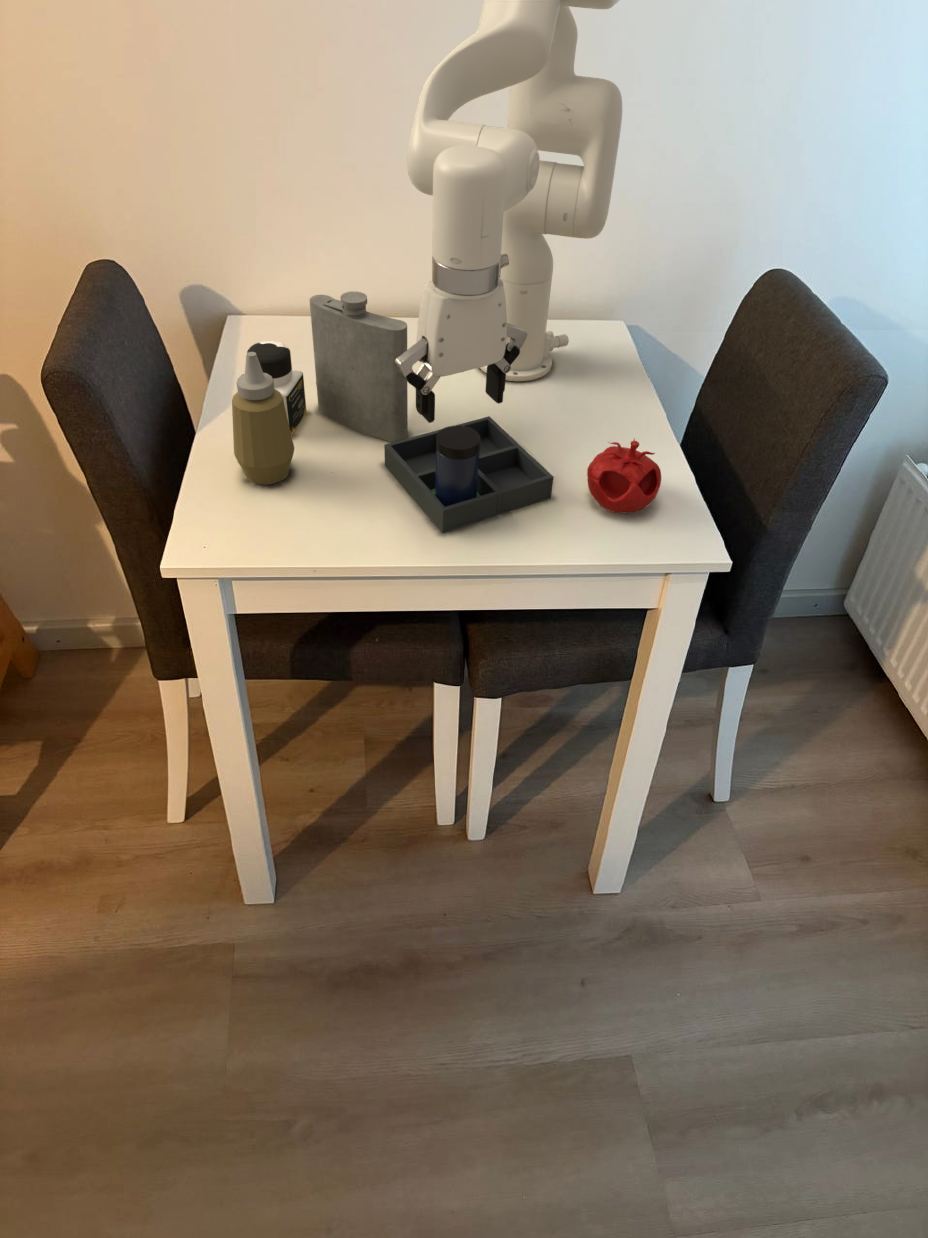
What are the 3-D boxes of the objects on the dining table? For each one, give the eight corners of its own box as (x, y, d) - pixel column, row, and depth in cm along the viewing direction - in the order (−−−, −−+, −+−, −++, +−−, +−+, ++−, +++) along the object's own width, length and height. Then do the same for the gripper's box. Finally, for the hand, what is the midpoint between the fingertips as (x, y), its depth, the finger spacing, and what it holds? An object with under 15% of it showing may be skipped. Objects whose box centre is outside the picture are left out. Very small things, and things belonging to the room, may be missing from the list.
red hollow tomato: (578, 478, 126) (587, 421, 120) (647, 478, 127) (660, 421, 120) (590, 522, 119) (600, 463, 113) (663, 521, 120) (677, 463, 113)
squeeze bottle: (270, 497, 120) (253, 376, 107) (225, 477, 123) (204, 357, 110) (308, 469, 125) (297, 350, 112) (264, 450, 128) (248, 332, 115)
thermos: (463, 484, 123) (466, 421, 116) (483, 506, 119) (488, 442, 112) (427, 495, 120) (428, 431, 113) (447, 518, 117) (449, 453, 110)
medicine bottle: (291, 437, 130) (283, 362, 122) (245, 430, 131) (234, 355, 123) (307, 412, 136) (300, 339, 127) (262, 406, 136) (253, 332, 128)
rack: (487, 437, 133) (489, 415, 130) (551, 498, 122) (554, 476, 120) (384, 465, 126) (384, 444, 124) (442, 533, 116) (442, 511, 113)
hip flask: (411, 435, 132) (411, 305, 118) (395, 447, 130) (394, 316, 116) (327, 401, 138) (318, 274, 124) (310, 413, 136) (299, 284, 122)
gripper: (514, 245, 104) (504, 377, 116) (380, 273, 97) (384, 409, 109) (549, 271, 99) (535, 405, 111) (411, 302, 93) (412, 440, 105)
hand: (460, 407), depth 110 cm, fingers open, 9 cm apart
